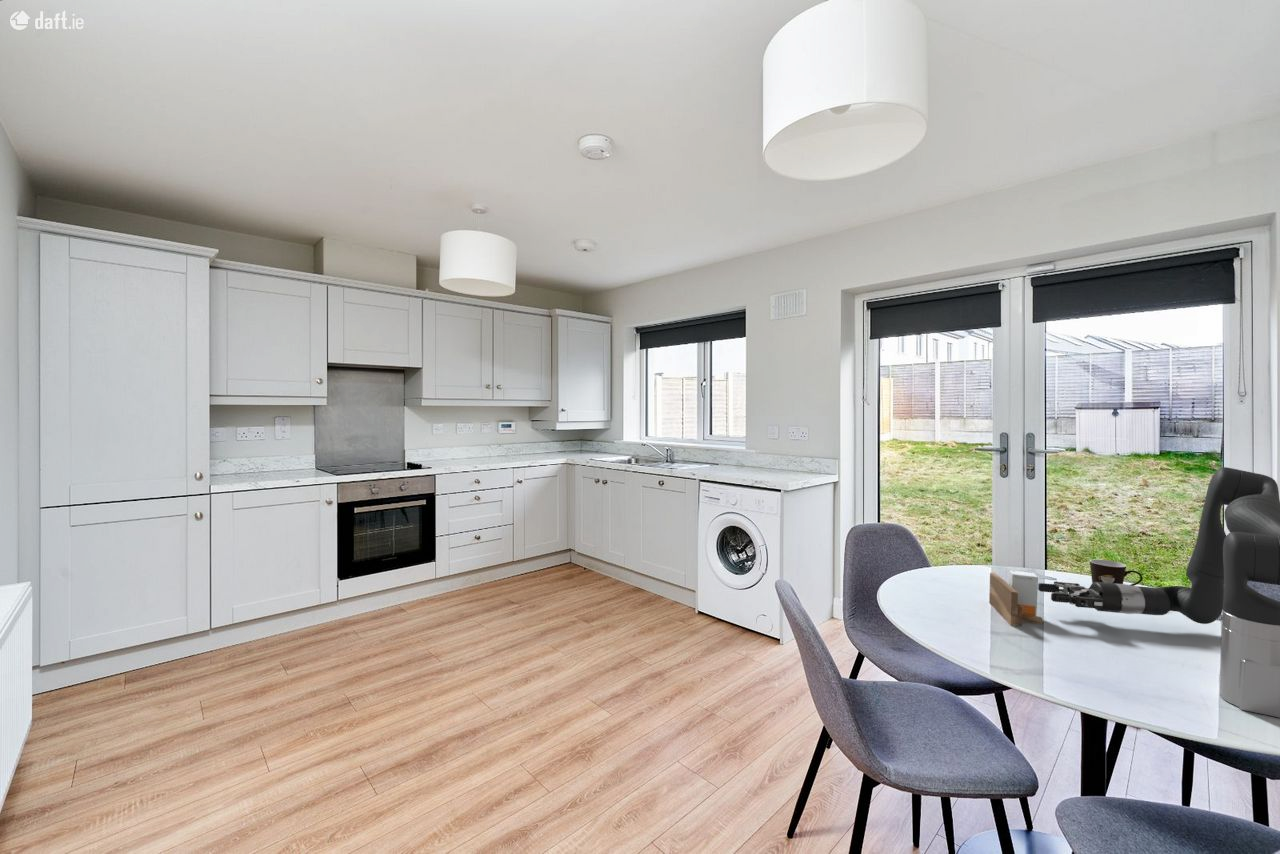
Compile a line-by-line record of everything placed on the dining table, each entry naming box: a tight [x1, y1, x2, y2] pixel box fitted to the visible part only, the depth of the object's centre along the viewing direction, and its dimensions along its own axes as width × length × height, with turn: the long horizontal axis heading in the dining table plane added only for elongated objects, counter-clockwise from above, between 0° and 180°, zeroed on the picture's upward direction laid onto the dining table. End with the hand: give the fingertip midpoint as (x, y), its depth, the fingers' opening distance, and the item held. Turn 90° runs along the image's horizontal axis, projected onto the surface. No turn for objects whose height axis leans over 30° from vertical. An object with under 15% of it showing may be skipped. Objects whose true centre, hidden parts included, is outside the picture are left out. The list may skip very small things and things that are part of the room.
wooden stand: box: [988, 572, 1043, 627], centre depth 151 cm, size 8×18×9 cm, turn 163°
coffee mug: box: [1089, 558, 1144, 586], centre depth 167 cm, size 12×9×10 cm
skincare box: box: [1008, 570, 1039, 616], centre depth 151 cm, size 6×4×12 cm
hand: (1045, 591), depth 149 cm, fingers open, 8 cm apart
